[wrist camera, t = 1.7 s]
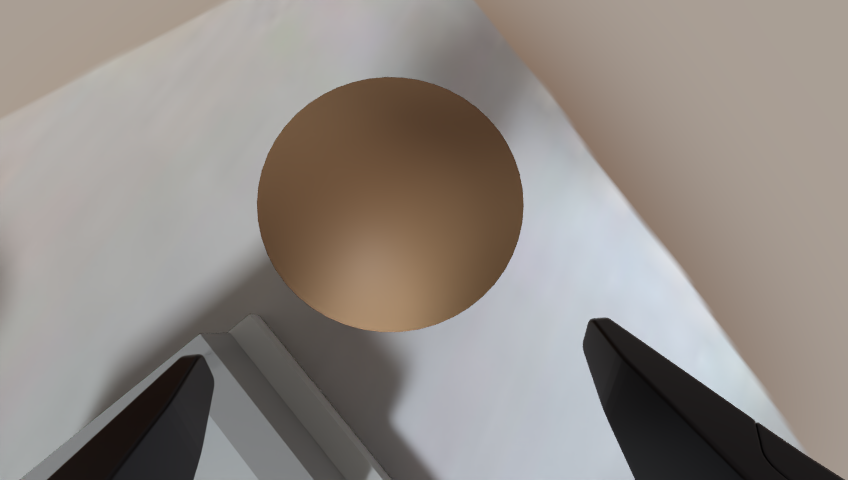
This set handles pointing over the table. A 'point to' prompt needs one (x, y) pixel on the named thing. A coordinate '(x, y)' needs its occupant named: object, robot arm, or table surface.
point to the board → (253, 416)
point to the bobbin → (390, 204)
